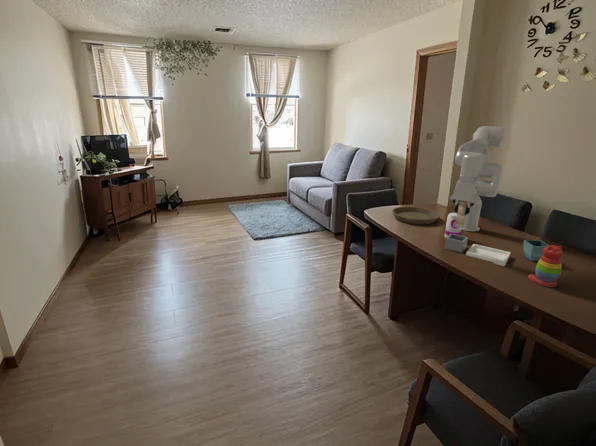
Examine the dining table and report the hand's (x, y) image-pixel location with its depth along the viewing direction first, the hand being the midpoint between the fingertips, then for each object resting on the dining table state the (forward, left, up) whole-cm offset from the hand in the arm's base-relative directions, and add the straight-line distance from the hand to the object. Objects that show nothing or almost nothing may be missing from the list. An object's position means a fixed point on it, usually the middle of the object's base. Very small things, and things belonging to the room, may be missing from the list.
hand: (461, 212), depth 189 cm
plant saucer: (-39, -37, -21) cm, 58 cm away
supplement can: (-15, -6, -21) cm, 26 cm away
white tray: (-1, +16, -21) cm, 26 cm away
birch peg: (0, 0, -8) cm, 8 cm away
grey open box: (0, 0, -21) cm, 21 cm away
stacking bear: (+13, +42, -21) cm, 49 cm away
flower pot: (-13, +35, -21) cm, 43 cm away
